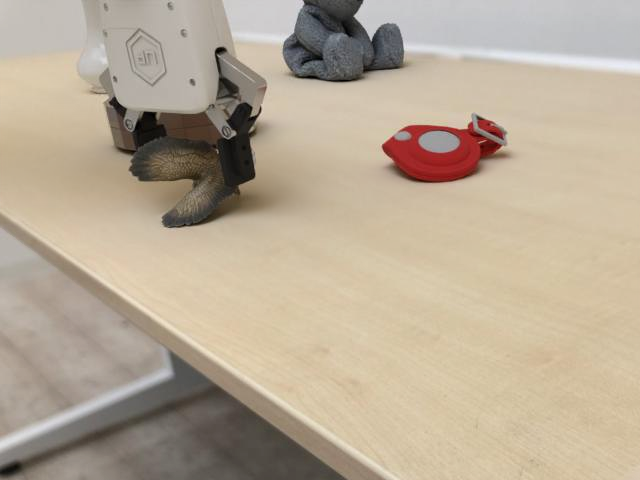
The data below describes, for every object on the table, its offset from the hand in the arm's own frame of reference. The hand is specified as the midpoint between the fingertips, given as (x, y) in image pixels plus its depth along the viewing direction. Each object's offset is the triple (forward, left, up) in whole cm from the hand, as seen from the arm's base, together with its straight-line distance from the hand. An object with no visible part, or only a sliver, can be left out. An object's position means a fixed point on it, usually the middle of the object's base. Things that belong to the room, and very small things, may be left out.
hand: (198, 177), depth 68 cm
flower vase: (-57, +42, -3) cm, 71 cm away
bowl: (-21, +20, -3) cm, 29 cm away
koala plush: (-29, +63, -3) cm, 69 cm away
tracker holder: (+15, +18, -3) cm, 24 cm away
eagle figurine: (0, 0, -3) cm, 3 cm away
